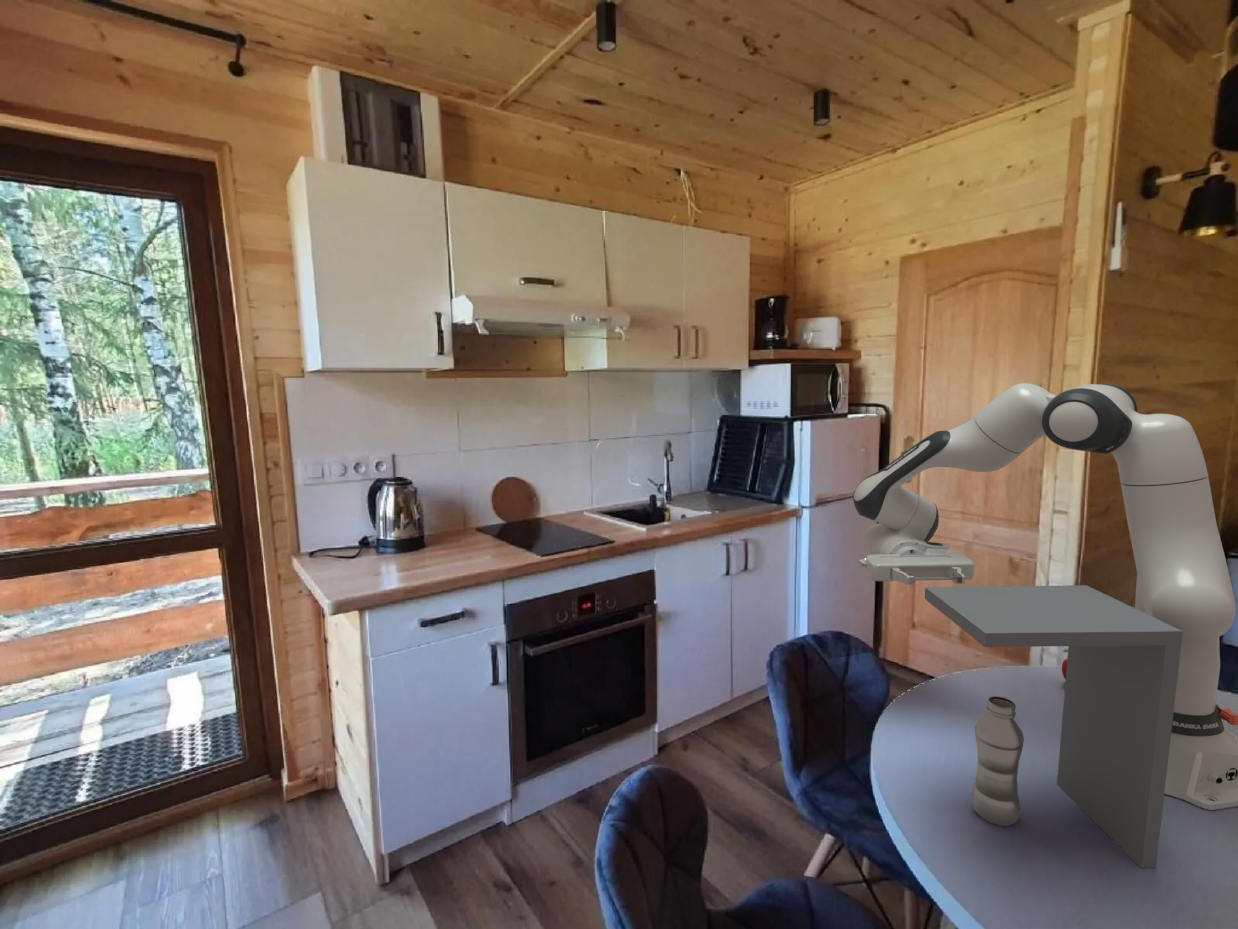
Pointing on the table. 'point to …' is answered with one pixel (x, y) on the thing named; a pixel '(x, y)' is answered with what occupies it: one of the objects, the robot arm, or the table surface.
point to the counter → (1093, 694)
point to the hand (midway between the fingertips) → (935, 580)
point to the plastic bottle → (998, 763)
